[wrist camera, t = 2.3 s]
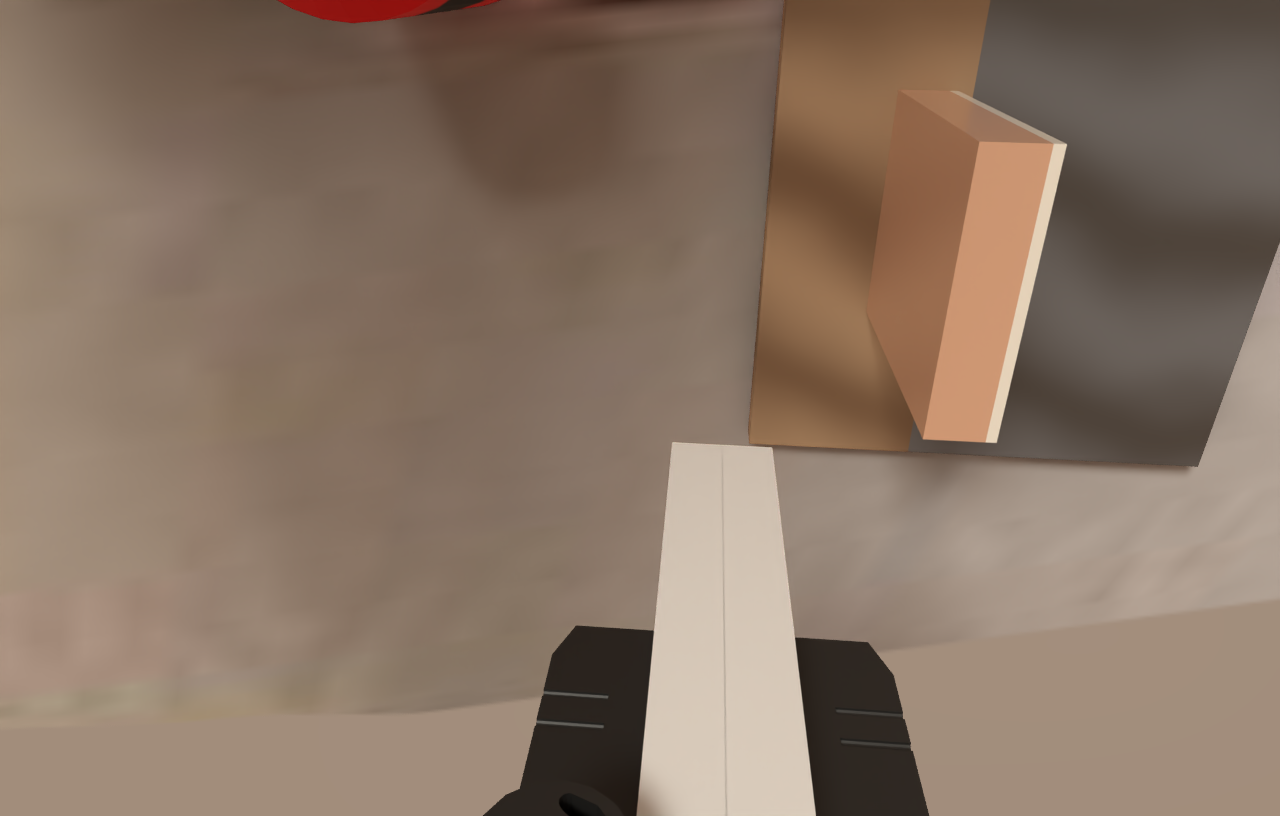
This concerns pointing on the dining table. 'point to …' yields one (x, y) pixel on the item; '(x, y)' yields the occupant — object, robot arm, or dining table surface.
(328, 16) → the soda can
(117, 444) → the dining table surface
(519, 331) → the dining table surface
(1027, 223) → the tile
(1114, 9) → the board
